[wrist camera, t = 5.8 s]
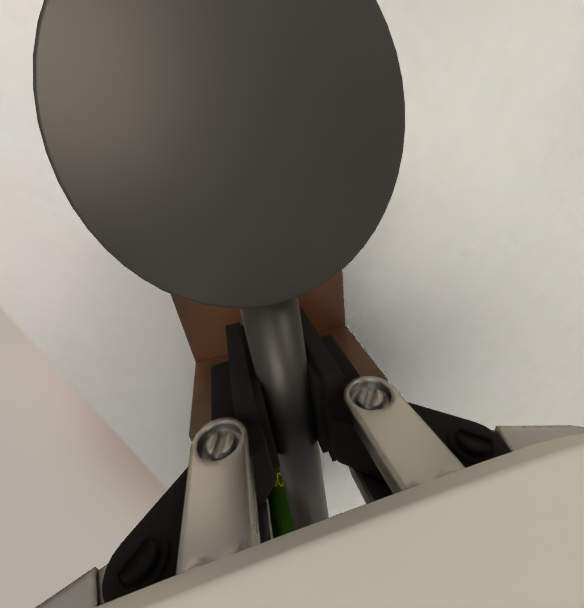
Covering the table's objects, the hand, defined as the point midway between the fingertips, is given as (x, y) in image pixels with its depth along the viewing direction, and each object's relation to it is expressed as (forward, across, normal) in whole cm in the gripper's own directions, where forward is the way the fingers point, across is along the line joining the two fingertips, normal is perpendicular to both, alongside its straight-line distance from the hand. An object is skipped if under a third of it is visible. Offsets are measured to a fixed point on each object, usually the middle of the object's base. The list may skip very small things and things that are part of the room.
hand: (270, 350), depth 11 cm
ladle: (-2, 0, 0) cm, 2 cm away
